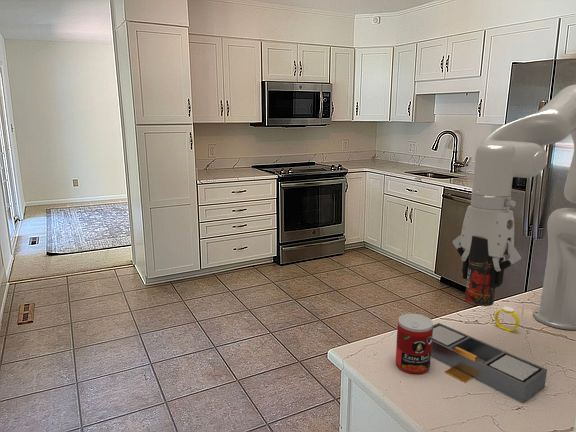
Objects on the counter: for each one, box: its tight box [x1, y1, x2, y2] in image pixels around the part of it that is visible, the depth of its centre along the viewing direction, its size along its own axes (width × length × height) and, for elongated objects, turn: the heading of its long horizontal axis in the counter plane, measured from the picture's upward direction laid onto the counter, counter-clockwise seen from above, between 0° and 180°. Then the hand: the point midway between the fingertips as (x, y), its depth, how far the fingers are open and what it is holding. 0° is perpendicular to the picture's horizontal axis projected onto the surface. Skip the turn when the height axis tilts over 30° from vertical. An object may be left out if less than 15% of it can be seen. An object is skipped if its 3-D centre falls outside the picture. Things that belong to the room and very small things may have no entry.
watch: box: [493, 306, 520, 332], centre depth 117 cm, size 6×3×6 cm, turn 39°
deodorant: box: [464, 236, 496, 307], centre depth 97 cm, size 6×6×15 cm
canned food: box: [395, 313, 434, 375], centre depth 100 cm, size 8×8×11 cm
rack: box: [431, 322, 548, 404], centre depth 99 cm, size 12×26×5 cm, turn 36°
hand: (481, 281), depth 98 cm, fingers closed on deodorant, 5 cm apart
